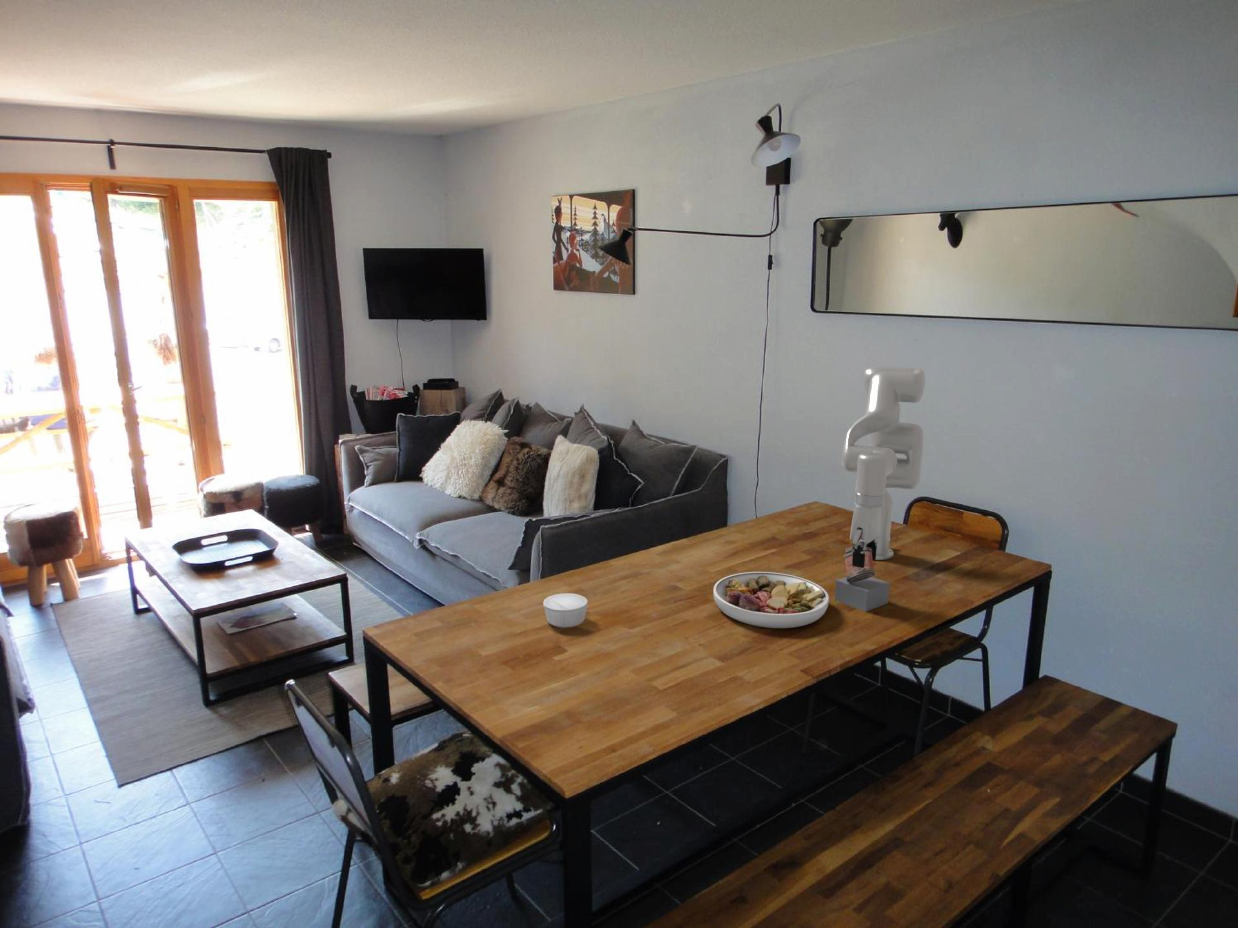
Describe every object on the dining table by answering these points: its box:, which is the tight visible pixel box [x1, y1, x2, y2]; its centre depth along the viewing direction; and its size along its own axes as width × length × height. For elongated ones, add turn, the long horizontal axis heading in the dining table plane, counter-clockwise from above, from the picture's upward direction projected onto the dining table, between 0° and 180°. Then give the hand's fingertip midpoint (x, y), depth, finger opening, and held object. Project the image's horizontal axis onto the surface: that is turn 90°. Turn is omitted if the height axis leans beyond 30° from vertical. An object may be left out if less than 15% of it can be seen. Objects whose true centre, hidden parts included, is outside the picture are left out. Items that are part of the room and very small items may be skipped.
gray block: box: [834, 576, 890, 613], centre depth 228 cm, size 10×10×6 cm
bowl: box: [712, 571, 830, 629], centre depth 222 cm, size 30×30×8 cm
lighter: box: [843, 544, 876, 583], centre depth 227 cm, size 8×3×10 cm
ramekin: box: [542, 592, 589, 628], centre depth 213 cm, size 11×11×5 cm
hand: (863, 562), depth 226 cm, fingers open, 7 cm apart
